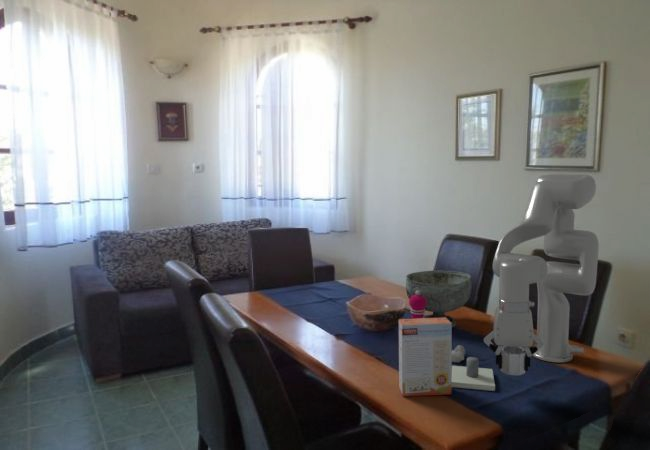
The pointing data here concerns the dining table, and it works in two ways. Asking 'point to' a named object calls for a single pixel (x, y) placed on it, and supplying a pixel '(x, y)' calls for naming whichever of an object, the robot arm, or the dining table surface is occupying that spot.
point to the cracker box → (425, 356)
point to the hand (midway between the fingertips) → (512, 367)
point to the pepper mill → (417, 305)
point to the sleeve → (513, 360)
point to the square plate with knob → (472, 376)
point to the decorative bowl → (440, 291)
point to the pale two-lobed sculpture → (458, 354)
